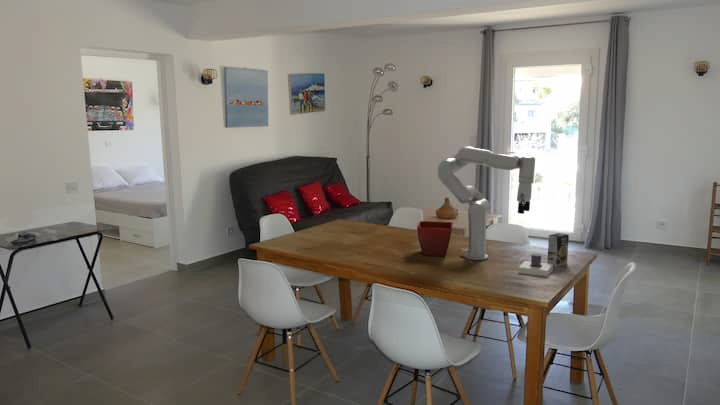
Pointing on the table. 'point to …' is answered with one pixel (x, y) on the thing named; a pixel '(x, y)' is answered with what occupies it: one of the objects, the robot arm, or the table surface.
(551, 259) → the coffee box
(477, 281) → the table surface
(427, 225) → the plant pot
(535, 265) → the dark grey rectangular block
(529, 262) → the outlet
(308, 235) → the table surface
